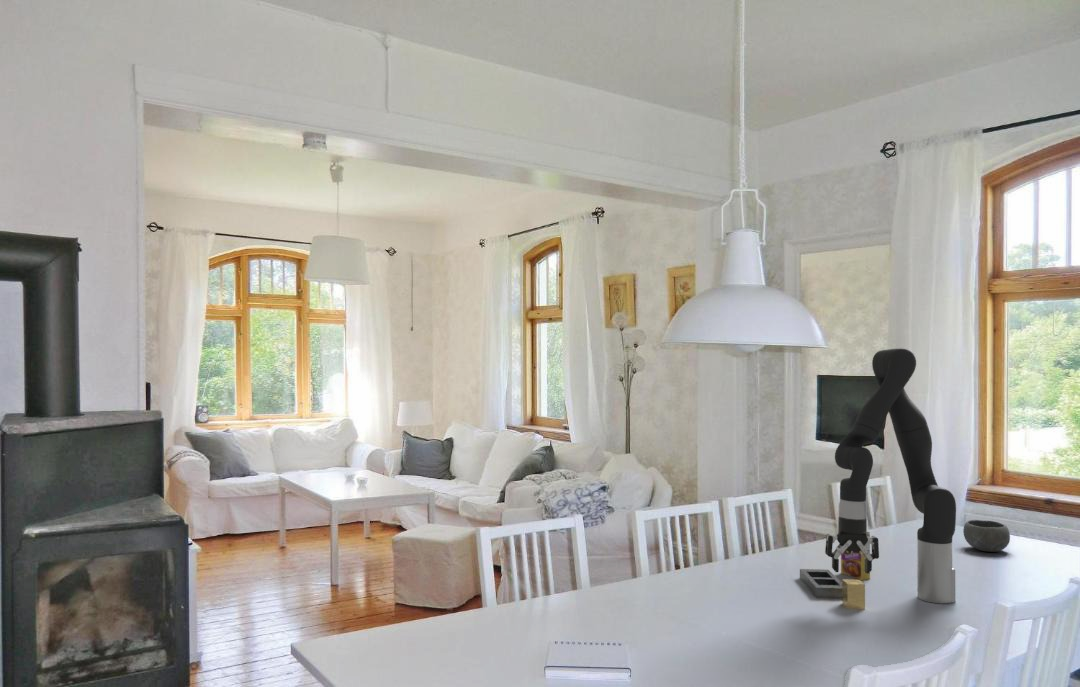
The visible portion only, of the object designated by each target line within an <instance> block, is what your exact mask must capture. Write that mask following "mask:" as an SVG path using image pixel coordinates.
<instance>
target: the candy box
mask: <svg viewBox="0 0 1080 687" xmlns="http://www.w3.org/2000/svg"><path fill="white" fill-rule="evenodd" d="M870 533H871V532H870V531H866V535H867V537H871V536H870V535H871V534H870ZM864 547H865V548H866V550H867V551H868V553H869V554H871V544H870V543H869V541H868V542H867V543H866V544H865V546H864ZM865 559H866V557H865V556H864V554H863V553H862V552H861V551H859V552H855V551H851V552H848V551H846V550H845V551H844V552H843V553H842V554H841V555H840V573H841V574H842V575H845V576H848V577H852V578H855V580H860V581H866V580H867V581H868V580H871V572H870V573H869V574H867V573H865Z"/></svg>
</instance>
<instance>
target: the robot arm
mask: <svg viewBox="0 0 1080 687" xmlns="http://www.w3.org/2000/svg"><path fill="white" fill-rule="evenodd" d="M916 358H917V357H916V356H915V354H914V353H913V352H912V351H911V350H910V349H908V348H904V347H903V348H902V347H898V348H887V349H881V350H879V351H877V352H876V353H875V354H874V355H873V357H872V359H871V362H872V363H871V364H872V371H873V374H874V376H875V379H876V381H877V384H878V386H879V387H878V389H877V390H876V392H875V393H873V395H872V396H871V397H870V398H869V399H868V400H867V402H866V403H865V404H864V405H863V406H862V408H861V409H860V411H859V413H858V415H857V418H856V419H855V422H854V424H853V426H852V428H851V430H850V431H849V432H848V433H847V434H846V436H845V437H844V438H843V439H842V440H841V442H840V443H839V444H838V446H837V447H836V450H835V452H834V461H835V463H836V465H837V467H839V468H841V469H843V470H849V471H851V474H850V477H846V478H843V479H841V480H840V484H839V501H838V502H839V503H838V518H837V519H838V521H837V522H838V526H837V527H838V529H837V530H838V532H837V534H836V535H834V534H830V533H827V534H826V539H825V549H824V550H825V551H824V553H825V555H827V556H828V557H829V558H831V568H832V570H833V571H834V572H835V573H839V571H840V570H839V569H840V567H839V566H840V565H839V564H840V562H839V561H840V559H839V558H840V557H841V554H842V553H843V552H844V551H845V550H846V551H848V552H851V551H855V552H859V551H861V552H862V553H863V554H864V556H865V557H866V559H865V573H867V574H869V573H870V574H871V573H872V571H873V564H872V563H873V560H875V559H876V560H878V559H879V558H880V552H879V551H880V548H879V544H880V543H879V538H878V537H877V536H875V535H872V536H870V537H867V535H866V532H868V531H867V520H868V518H867V517H868V509H867V508H868V507H867V485H868V482H869V480H870V475H871V473H872V469H873V465H874V458H873V455H872V452H871V451H870V450H869V449H868V448H867V447H864V446H865V445H868V444H869V445H870V444H872V443H875V442H876V440H877V439H878V437H879V434H880V431H881V429H882V427H883V425H884V423H885V421H886V418H887V416H888V414H889V416H890V420H891V424H892V428H893V431H894V434H895V438H896V441H897V444H898V445H897V446H898V447H899V450H900V453H901V457H902V460H903V463H904V467H905V469H906V473H907V477H908V483H909V488H910V493H911V500H912V502H913V505H914V507H915V509H916V510H917V511H919V512H920V513H921V514H923V521H922V522H923V524H922V526H921V527H919V528H918V529H917V533H916V534H917V535H916V536H917V538H916V539H917V540H916V542H917V543H916V544H917V545H916V547H917V548H916V549H917V551H916V552H917V553H916V554H917V560H916V562H917V564H916V565H917V566H916V567H917V568H916V569H917V576H916V578H917V582H916V583H917V584H916V585H917V598H918V599H920V600H921V601H924V602H928V603H934V604H950V603H956V569H955V568H953V536H954V535H955V532H956V525H957V524H956V520H957V518H956V517H957V504H956V499H955V496H954V494H953V493H952V492H951V491H950V490H948V489H947V488H945V487H942V486H939V485H938V482H937V480H936V478H935V477H936V476H935V474H934V471H933V468H932V451H933V441H932V435H931V432H930V429H929V426H928V425H929V424H928V421H927V418H926V417H925V416H924V414H923V413H922V411H921V410H920V409H919V407H918V406H917V405H916V404H915V403H914V402H913V400H912V399H911V398H910V396H909V394H907V391H906V390H905V387H906V386H907V384H908V382H909V381H910V379H911V378H912V377H913V374H914V373H915V371H916V369H917V368H916V367H917V359H916ZM836 541H837V542H838V544H837V545H836V547H835V548H834V550H833V544H835V542H836ZM868 541H869V543H870V546H871V553H870V554H869V553H868V551H867V550H866V548H865V547H864V546H865V544H866V543H867V542H868Z"/></svg>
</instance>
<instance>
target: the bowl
mask: <svg viewBox="0 0 1080 687" xmlns="http://www.w3.org/2000/svg"><path fill="white" fill-rule="evenodd" d="M962 531H963V537H964V539H965V542H966V543H967V544H968V545H970V547H971V548H973V549H975V550H978V551H980V552H987V553H995V552H996V553H997V552H1000V551H1002V550H1005V548H1007V547H1008V546H1009V544H1010V541H1011V540H1010V539H1011V534H1010V531H1009V528H1008V526H1007V525H1005V524H1003V523H1002V522H998V521H994V520H982V519H981V520H980V519H974V520H973V519H972V520H971V519H970V520H968V521H965V523H964V525H963V530H962Z"/></svg>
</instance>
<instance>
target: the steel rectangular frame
mask: <svg viewBox="0 0 1080 687" xmlns="http://www.w3.org/2000/svg"><path fill="white" fill-rule="evenodd" d="M799 579H800V581H801V582H803V583H804V584H803V585H805V586H806V588H807V589H808V590H809V591H810V593H811V594H813V595H814V596H815V598H817V599H819V598H820V599H842V580H840V579H839V578H838V577H836V575H834V573H833V572H832V571H831V570H830V569H819V568H818V569H815V568H814V569H813V568H811V569H810V568H799Z"/></svg>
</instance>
